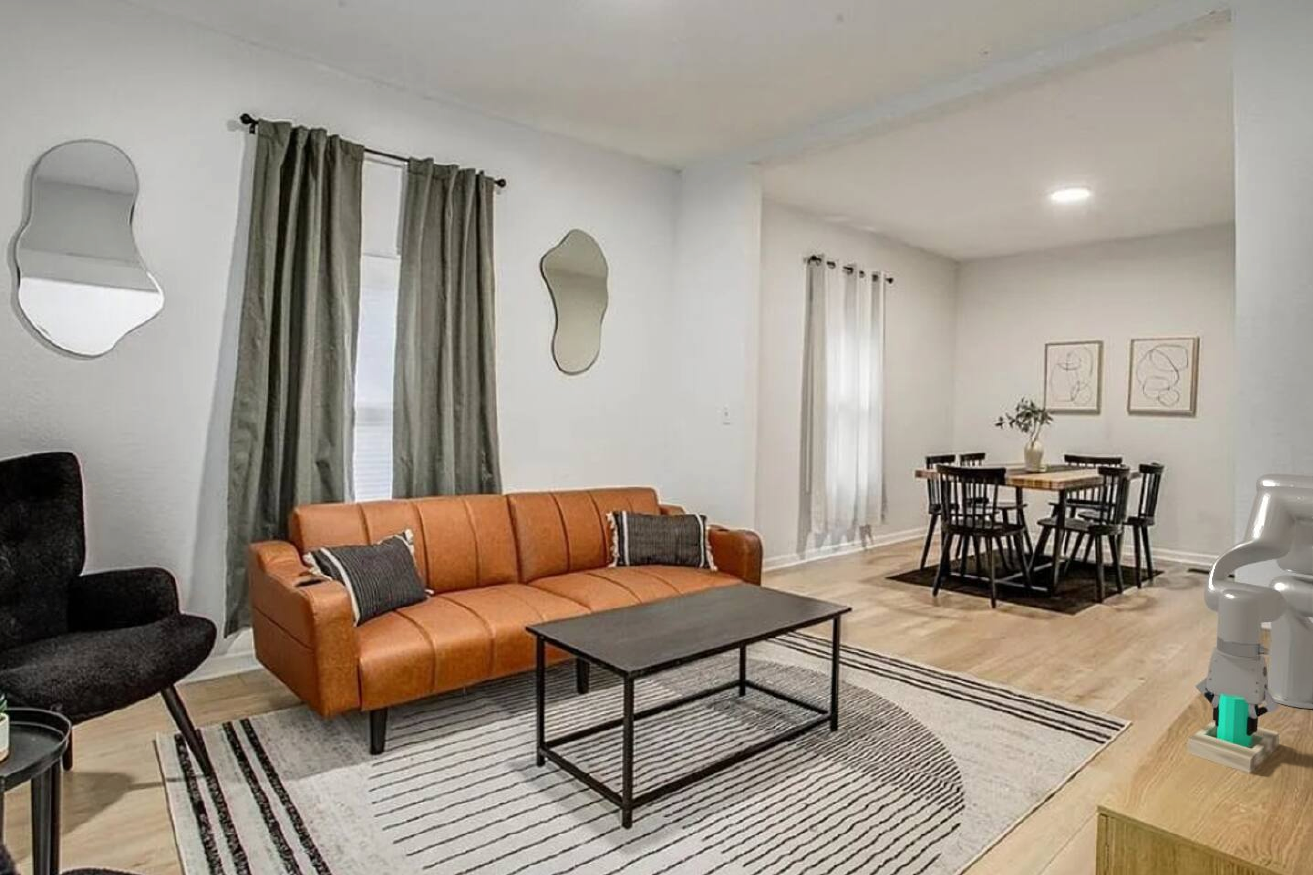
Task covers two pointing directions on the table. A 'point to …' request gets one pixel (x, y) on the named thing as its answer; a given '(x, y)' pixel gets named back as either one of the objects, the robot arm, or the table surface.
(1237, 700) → the candle
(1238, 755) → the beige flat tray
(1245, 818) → the table surface
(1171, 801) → the table surface
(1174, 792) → the table surface
